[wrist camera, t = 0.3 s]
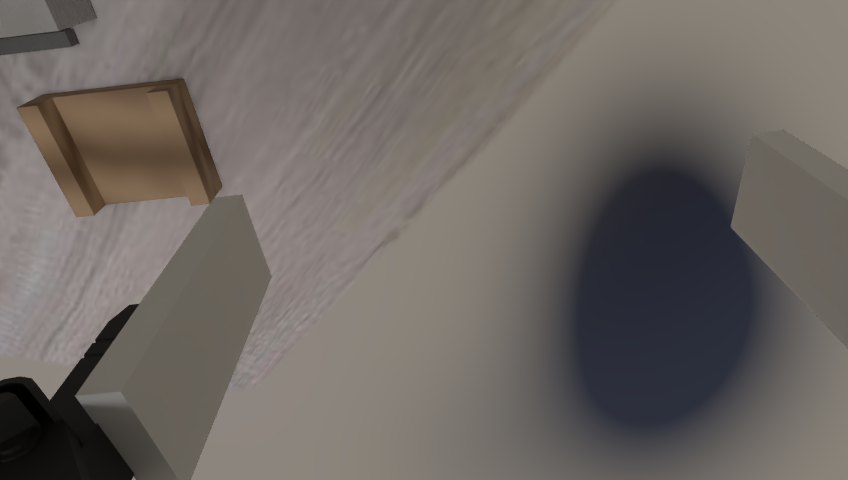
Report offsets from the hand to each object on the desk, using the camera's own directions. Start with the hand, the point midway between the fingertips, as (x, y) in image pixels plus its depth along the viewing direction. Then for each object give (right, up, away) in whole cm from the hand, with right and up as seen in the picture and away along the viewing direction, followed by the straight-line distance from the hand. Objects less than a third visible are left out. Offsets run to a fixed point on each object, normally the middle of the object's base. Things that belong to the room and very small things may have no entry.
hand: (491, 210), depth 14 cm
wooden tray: (-25, +7, +27) cm, 38 cm away
